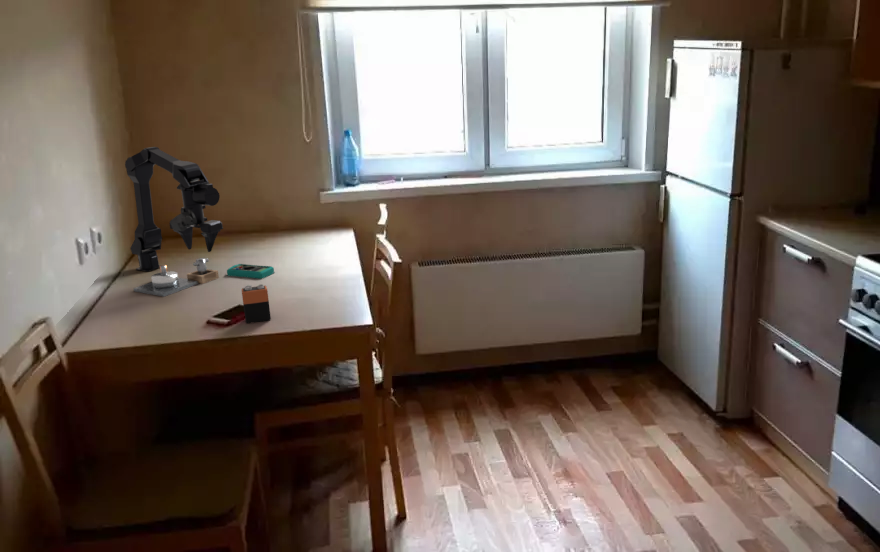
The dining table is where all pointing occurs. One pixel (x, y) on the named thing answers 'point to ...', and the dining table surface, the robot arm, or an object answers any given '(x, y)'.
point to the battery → (256, 303)
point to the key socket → (203, 276)
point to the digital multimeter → (250, 271)
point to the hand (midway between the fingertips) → (199, 250)
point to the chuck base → (166, 291)
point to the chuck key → (201, 265)
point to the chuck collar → (165, 278)
